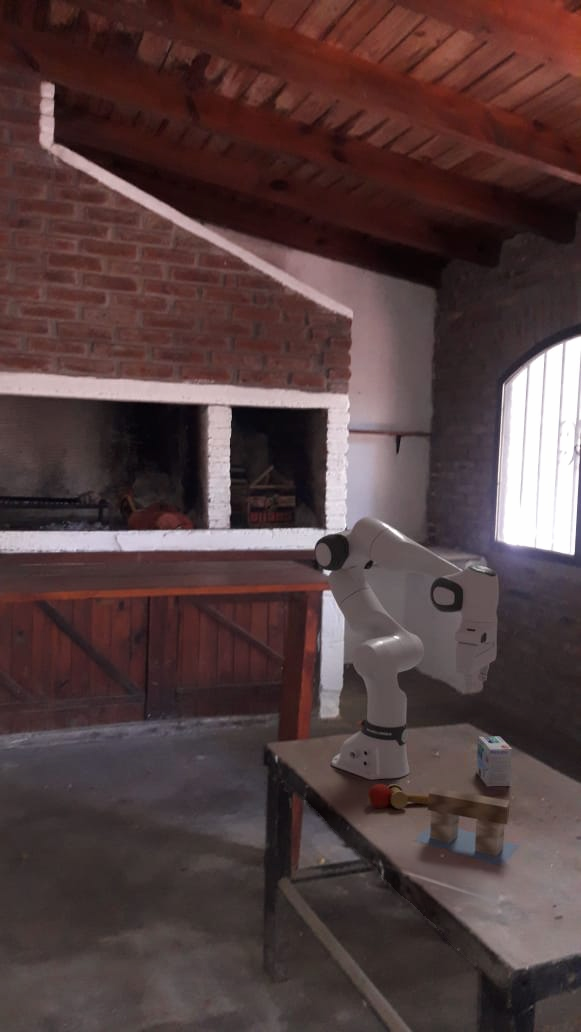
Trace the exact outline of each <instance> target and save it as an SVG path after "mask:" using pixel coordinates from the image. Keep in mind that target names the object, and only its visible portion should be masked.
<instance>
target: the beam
mask: <svg viewBox="0 0 581 1032" xmlns="http://www.w3.org/2000/svg"><path fill="white" fill-rule="evenodd" d="M428 795H429V796H428V805H427V811H430V812H431V811H436V812H441V813H447V814H452V815H458V816H459V817H462V818H464V817H465V818H471V819H475V820H478V819H479V820H485V821H490V822H495V823H501V824H505V825H507V824H508V822H509V821H508V820H509V818H510V800H509V799H508V800H507V799H501V798H497V797H490V796H484V795H480V794H479V795H478V794H474V793H473V794H472V793H468V792H467V793H466V792H461V791H457V790H456V791H455V790H450V789H445V788H439V787H431V789H430V790H429V792H428Z"/></svg>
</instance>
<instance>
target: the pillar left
mask: <svg viewBox="0 0 581 1032" xmlns="http://www.w3.org/2000/svg"><path fill="white" fill-rule="evenodd" d="M430 813H431V814H430V825H431V828H430V838H433V839H437V840H440V841H444V842H447V843H451V842H452V841H453V840H454V839H455V838H456V837H457V836H458V829H459V823H460V822H459V820H460V819H459V818H460V816H458V815H452V814H447V813H441V812H436V811H431V810H430Z"/></svg>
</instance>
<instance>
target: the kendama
mask: <svg viewBox="0 0 581 1032" xmlns="http://www.w3.org/2000/svg"><path fill="white" fill-rule="evenodd" d="M428 796H429V794H424V793H423V794H421V793H406V792H404V791H403V789H402V787H401V786H400V785H398V784H395V783H392V784H388V786H387V785H386V784H384V783H377V784H374V785H373V786H372V787H371V788H370V790H369V792H368V800H369V803H370V804H371V806H373V807H374V808H375V807H376V808H375V809H385V808H387V807H388V806H392V807H394V808H395V809H398V810H401V809H404V808H405V807H406V806H407V805H408V802H409V803H414V804H417V805H418V804H421V805H426V806H428Z"/></svg>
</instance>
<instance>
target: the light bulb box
mask: <svg viewBox="0 0 581 1032" xmlns="http://www.w3.org/2000/svg"><path fill="white" fill-rule="evenodd" d="M476 752H477V755H476V769H475V773H476V774H477V775H478V776H479V778H480V779H481V780H482V781H483V783H484V784H485V786H486V787H489V788H490V787H492V786H510V787H511V772H512V771H511V769H512V756H513V748H512V747H510V745H509V744H508V743H507V742H506V741H505V740H504V739H503V738H502V737H501V736H498V735H497V736H496V735H495V736H492V735H491V736H477V750H476Z"/></svg>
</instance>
